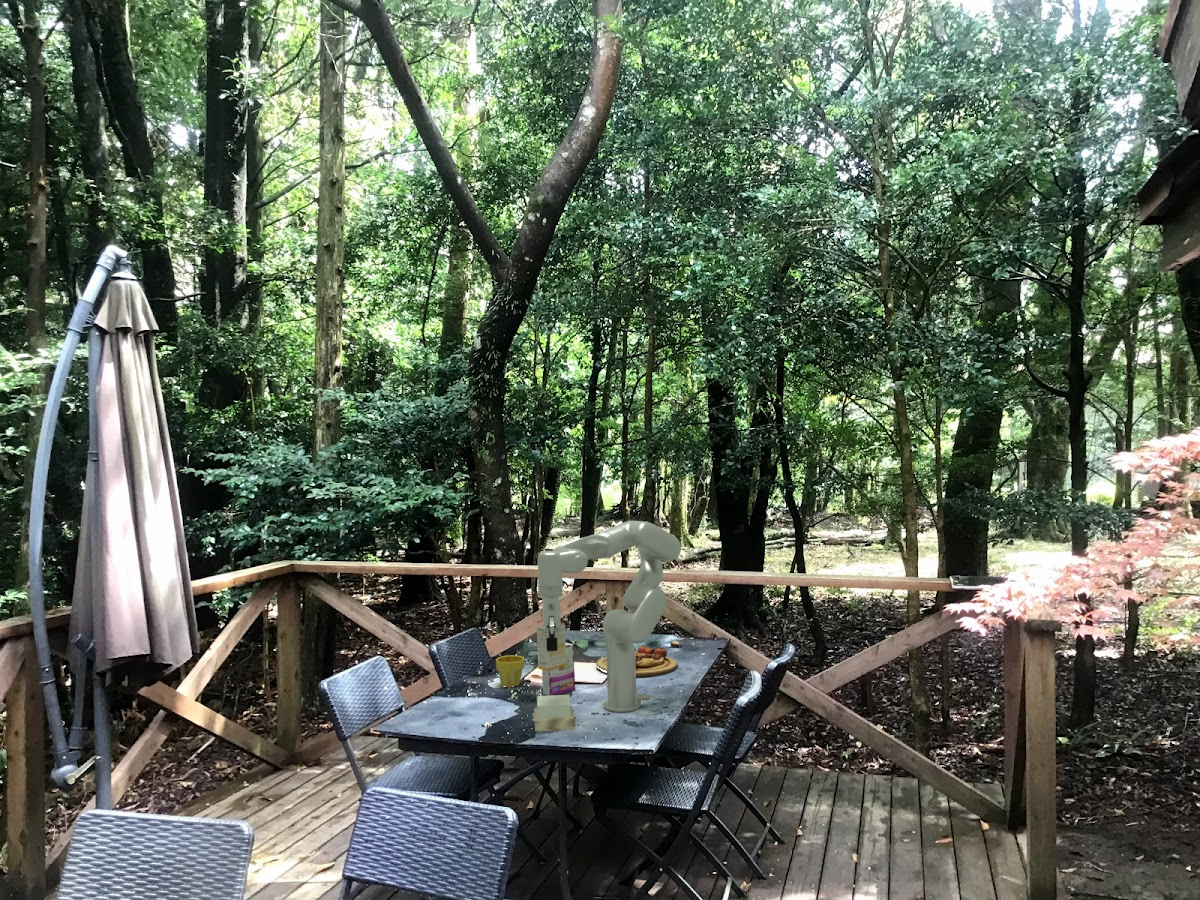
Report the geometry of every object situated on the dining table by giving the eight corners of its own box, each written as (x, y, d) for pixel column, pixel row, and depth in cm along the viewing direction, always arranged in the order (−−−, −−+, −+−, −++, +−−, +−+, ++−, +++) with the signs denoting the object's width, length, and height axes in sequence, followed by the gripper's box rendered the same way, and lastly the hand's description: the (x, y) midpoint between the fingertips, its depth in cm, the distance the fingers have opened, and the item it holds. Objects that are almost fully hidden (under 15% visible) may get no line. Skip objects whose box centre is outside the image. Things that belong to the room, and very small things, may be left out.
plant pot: (528, 687, 280) (527, 660, 281) (500, 691, 277) (499, 663, 277) (520, 680, 290) (519, 653, 290) (493, 683, 286) (492, 657, 286)
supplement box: (555, 663, 244) (554, 621, 244) (566, 665, 241) (565, 623, 241) (537, 669, 237) (536, 626, 238) (548, 671, 234) (547, 627, 235)
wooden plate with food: (654, 683, 283) (654, 660, 283) (580, 672, 299) (580, 650, 299) (690, 664, 310) (690, 643, 310) (620, 655, 326) (620, 635, 327)
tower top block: (569, 707, 244) (569, 694, 245) (570, 717, 235) (570, 704, 235) (538, 708, 244) (537, 696, 244) (537, 719, 234) (537, 705, 234)
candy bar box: (567, 687, 279) (565, 641, 279) (575, 690, 275) (574, 644, 275) (541, 694, 271) (540, 647, 272) (550, 697, 268) (548, 649, 268)
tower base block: (572, 718, 246) (572, 706, 246) (575, 731, 234) (574, 718, 234) (534, 721, 244) (534, 708, 245) (535, 734, 233) (534, 720, 233)
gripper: (564, 595, 231) (565, 653, 231) (561, 586, 249) (562, 640, 248) (538, 596, 231) (539, 654, 230) (537, 587, 248) (538, 641, 247)
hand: (551, 647), depth 239 cm, fingers closed on supplement box, 9 cm apart
